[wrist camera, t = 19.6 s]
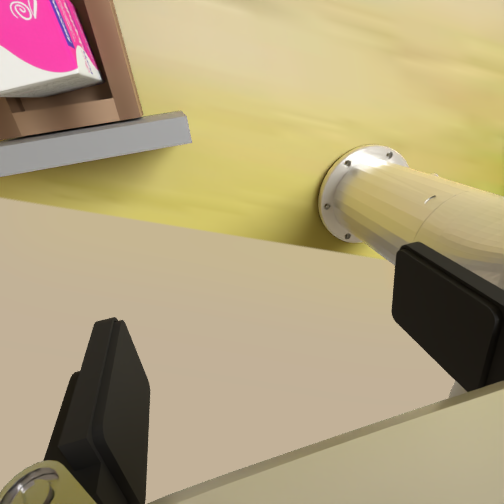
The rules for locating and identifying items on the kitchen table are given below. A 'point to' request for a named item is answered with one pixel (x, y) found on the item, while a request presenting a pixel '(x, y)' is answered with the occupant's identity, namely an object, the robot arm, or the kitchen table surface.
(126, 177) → the kitchen table surface
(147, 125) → the backstop wall
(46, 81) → the supplement box
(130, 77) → the socket block
